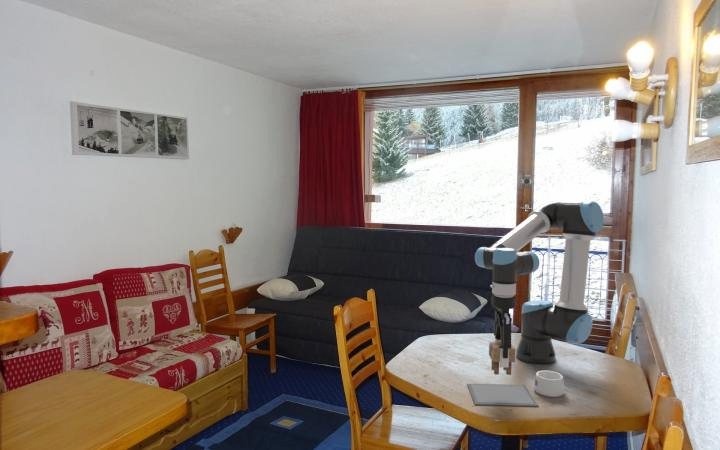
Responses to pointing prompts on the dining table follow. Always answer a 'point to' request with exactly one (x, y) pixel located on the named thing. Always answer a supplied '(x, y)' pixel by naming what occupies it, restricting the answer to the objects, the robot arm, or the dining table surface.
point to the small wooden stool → (495, 356)
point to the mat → (501, 395)
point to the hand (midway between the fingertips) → (501, 362)
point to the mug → (549, 383)
